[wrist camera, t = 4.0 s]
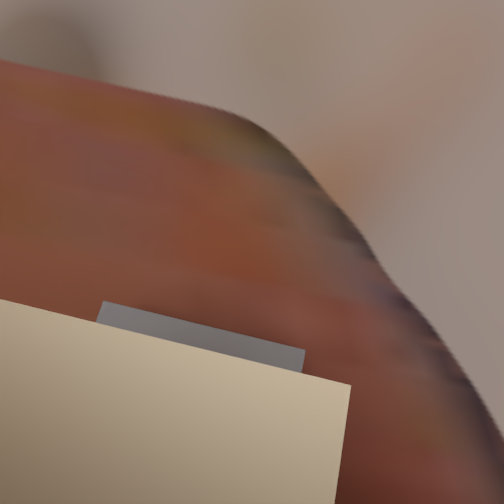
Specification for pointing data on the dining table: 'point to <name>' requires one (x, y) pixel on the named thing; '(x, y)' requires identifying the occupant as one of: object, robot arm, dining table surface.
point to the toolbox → (201, 336)
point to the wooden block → (156, 420)
